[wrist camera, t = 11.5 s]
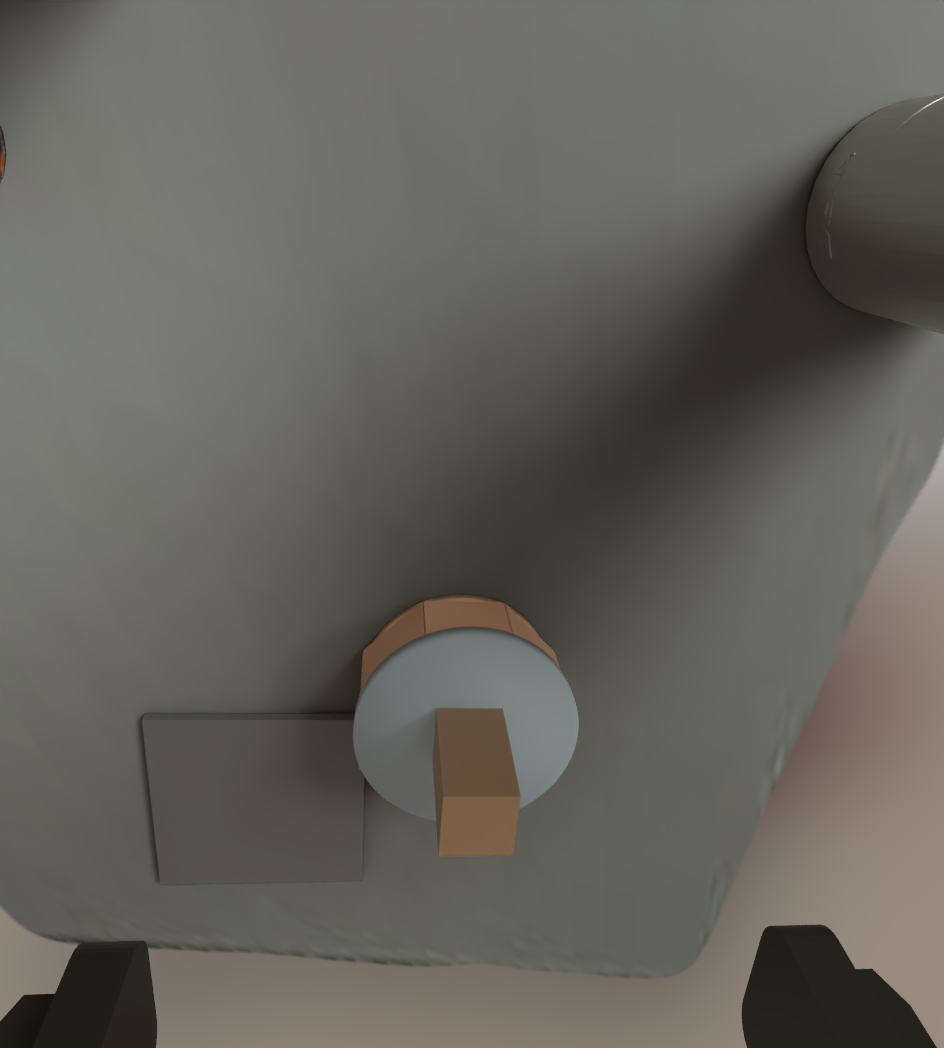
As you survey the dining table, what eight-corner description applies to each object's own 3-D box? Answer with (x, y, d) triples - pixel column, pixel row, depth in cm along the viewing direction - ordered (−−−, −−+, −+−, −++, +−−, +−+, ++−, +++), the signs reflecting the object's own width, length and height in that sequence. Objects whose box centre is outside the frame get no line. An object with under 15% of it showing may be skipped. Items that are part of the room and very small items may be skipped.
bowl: (558, 596, 43) (577, 644, 38) (538, 751, 47) (554, 813, 42) (364, 592, 42) (360, 642, 37) (361, 752, 46) (357, 815, 41)
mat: (365, 713, 45) (365, 720, 44) (362, 873, 49) (362, 881, 49) (145, 713, 43) (141, 719, 43) (163, 877, 48) (160, 885, 47)
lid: (587, 628, 38) (627, 718, 31) (560, 808, 42) (590, 920, 36) (356, 623, 37) (347, 716, 30) (352, 809, 41) (343, 925, 34)
